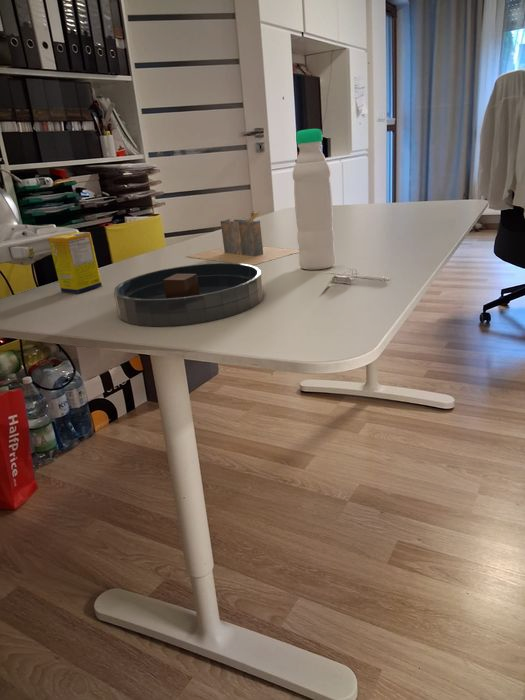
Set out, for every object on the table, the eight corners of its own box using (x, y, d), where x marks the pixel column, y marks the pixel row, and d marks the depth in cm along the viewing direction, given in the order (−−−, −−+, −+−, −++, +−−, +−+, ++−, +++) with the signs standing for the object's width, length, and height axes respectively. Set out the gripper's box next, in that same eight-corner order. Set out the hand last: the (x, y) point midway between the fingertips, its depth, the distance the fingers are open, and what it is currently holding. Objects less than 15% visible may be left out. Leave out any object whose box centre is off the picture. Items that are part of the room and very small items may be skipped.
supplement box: (84, 284, 109) (72, 231, 105) (102, 286, 106) (91, 231, 102) (60, 292, 105) (46, 237, 101) (78, 294, 101) (65, 237, 97)
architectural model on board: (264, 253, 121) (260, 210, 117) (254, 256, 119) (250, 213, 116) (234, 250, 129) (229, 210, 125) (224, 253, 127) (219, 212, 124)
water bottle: (340, 262, 104) (333, 127, 95) (329, 270, 98) (321, 127, 89) (306, 262, 107) (297, 131, 98) (294, 270, 101) (283, 132, 92)
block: (187, 304, 84) (183, 279, 82) (167, 303, 85) (162, 279, 84) (200, 297, 87) (196, 273, 86) (180, 296, 89) (176, 273, 87)
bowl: (187, 339, 69) (182, 307, 68) (90, 318, 84) (84, 291, 82) (292, 294, 85) (290, 267, 84) (195, 283, 100) (192, 260, 98)
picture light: (391, 281, 86) (391, 269, 86) (377, 287, 84) (377, 275, 83) (324, 274, 96) (323, 263, 95) (309, 280, 93) (308, 268, 92)
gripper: (-33, 239, 108) (-3, 241, 99) (58, 222, 122) (90, 223, 113) (-23, 269, 110) (6, 273, 101) (64, 249, 124) (97, 252, 115)
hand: (51, 247), depth 107 cm, fingers open, 8 cm apart
